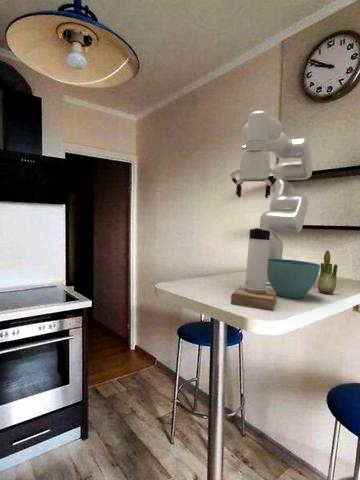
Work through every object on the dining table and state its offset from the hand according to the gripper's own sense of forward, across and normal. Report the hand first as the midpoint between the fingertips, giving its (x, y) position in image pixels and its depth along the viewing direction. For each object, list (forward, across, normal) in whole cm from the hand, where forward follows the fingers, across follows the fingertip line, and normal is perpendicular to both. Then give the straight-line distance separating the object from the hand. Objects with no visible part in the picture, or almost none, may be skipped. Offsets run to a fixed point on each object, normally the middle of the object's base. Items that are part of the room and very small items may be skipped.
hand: (252, 197), depth 103 cm
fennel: (+35, +29, +34) cm, 57 cm away
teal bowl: (+34, +15, +5) cm, 38 cm away
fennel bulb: (+35, +28, +19) cm, 48 cm away
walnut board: (+34, +5, -13) cm, 37 cm away
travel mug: (+31, +5, -13) cm, 34 cm away
